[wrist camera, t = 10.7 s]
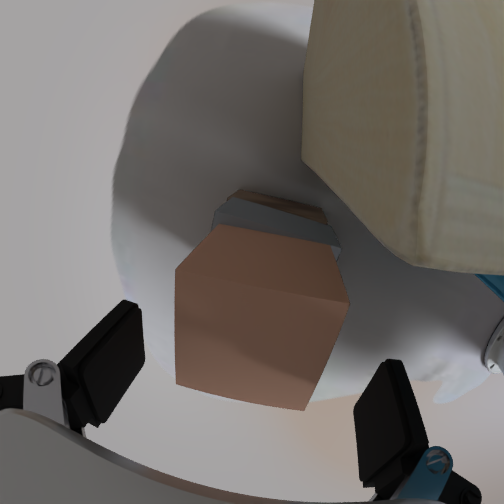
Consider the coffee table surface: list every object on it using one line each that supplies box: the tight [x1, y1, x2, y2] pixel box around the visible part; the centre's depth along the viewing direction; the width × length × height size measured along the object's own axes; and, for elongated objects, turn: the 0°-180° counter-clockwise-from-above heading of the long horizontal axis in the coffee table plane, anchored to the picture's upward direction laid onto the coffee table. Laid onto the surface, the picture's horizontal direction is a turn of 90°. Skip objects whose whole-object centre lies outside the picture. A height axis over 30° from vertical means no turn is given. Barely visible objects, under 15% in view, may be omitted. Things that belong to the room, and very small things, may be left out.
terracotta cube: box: [175, 224, 350, 411], centre depth 13 cm, size 6×6×6 cm
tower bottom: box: [227, 190, 328, 225], centre depth 22 cm, size 7×7×4 cm
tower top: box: [211, 197, 342, 262], centre depth 18 cm, size 7×7×4 cm
